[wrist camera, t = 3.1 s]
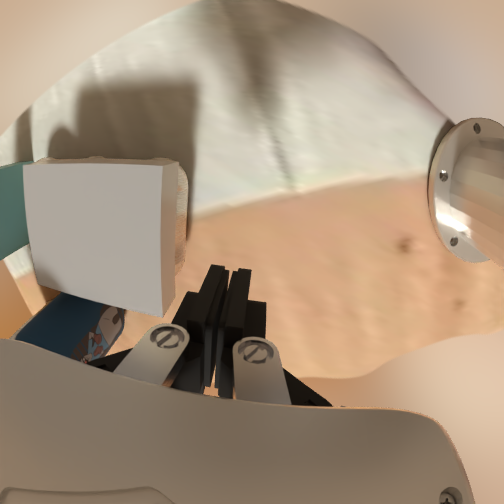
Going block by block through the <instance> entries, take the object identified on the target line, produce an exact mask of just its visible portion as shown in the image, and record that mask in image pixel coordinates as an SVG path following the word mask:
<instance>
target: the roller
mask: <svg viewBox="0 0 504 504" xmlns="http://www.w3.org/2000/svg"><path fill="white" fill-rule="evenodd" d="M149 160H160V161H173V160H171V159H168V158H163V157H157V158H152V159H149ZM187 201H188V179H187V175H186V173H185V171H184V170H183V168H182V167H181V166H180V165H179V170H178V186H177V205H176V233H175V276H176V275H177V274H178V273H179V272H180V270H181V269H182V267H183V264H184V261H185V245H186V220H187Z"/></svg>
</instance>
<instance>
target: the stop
mask: <svg viewBox="0 0 504 504" xmlns="http://www.w3.org/2000/svg"><path fill="white" fill-rule="evenodd" d="M30 163H33V161H25V162H17V163H13V164H9V165H5V166H1V167H0V260H2V259H4V258H5V257H7V256H8V255H10V254H12V253H13V252H15V251H17V250H18V249H20V248H22V247H23V246H25V245H27V244H28V243H30V241H29V235H28V227H27V219H26V210H25V199H24V183H23V165H26V164H30Z"/></svg>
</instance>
